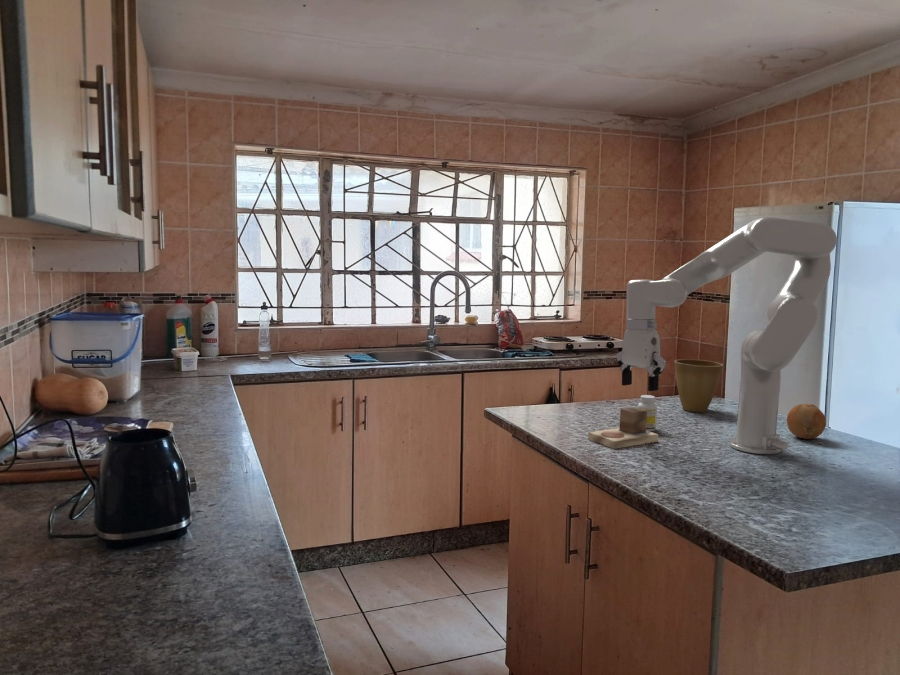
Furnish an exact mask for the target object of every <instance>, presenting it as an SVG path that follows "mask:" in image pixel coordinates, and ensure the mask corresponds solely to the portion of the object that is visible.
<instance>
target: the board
mask: <svg viewBox="0 0 900 675" xmlns="http://www.w3.org/2000/svg"><path fill="white" fill-rule="evenodd" d="M619 428H620V427H615V428H609V429H602V430H596V431H595V430H593V431H588V438H587V439H588V441H591V440H592V442H593V443H594V442H595V443H597V444H599V443H600V445H602V444H603V445H602V446H604V447H605V446H606V447H608V448H610V449H613V450H617V449H621V448H622V447H623V448H629V447H633V446H634V445H635V446H639V445H645V443H646V444H651V442H652V443H657V441H658V442H659V434H658V433H655V432H653V431H646V432H644V433H638V434H630V433H627V432H624V431H621V430H619ZM628 446H629V447H628ZM623 448H622V449H623Z"/></svg>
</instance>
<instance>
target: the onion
mask: <svg viewBox="0 0 900 675" xmlns="http://www.w3.org/2000/svg"><path fill="white" fill-rule="evenodd" d="M786 424H787V429H788V431H789V432H790V433H791V434H792V435H794V436H795V437H797V438H798V437H799V438H798V439H801V438H803V439H802V440H812V439H815V438H817V437H819V436H820V435H821V436H822V434H823V433H824V431H825V429H826V427H827V426H826V425H827V420H826V416H825V414H824V412H823V411H822V410H821V409H820V408H819V407H818V406H817V405H815V404H812V403H802V404H797V405H794V406H793V407H792V408H791V409H790V410H789V412H788V414H787V416H786Z"/></svg>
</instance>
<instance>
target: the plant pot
mask: <svg viewBox="0 0 900 675" xmlns="http://www.w3.org/2000/svg"><path fill="white" fill-rule="evenodd" d="M723 366H724V365H723V363H720V362H716V361H711V360H704V359H692V358H691V359H689V358H687V359H685V358H684V359H681V358H680V359H676V360H674V370H675V372H674V373H675V381H676V387H677V391H678V392H677V393H678V397H679V400H680V403H681V407H682V409H683V410H685V411H687V412H692V413H705V412H707V410H708V408H709V407H710V405H711V403H712V400H713V398H714V396H715V393H716V390H717V388H718V385H719V381H720V379H721V374H722V370H723Z"/></svg>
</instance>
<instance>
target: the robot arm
mask: <svg viewBox="0 0 900 675" xmlns="http://www.w3.org/2000/svg"><path fill="white" fill-rule="evenodd" d="M837 240H838V237H837V234H836V232H835V230H834V228H832V227H831V226H829V225H828V224H825V223H822V222H814V221H803V220H796V219H795V220H794V219H786V218H780V217H773V216H772V217H771V216H765V217H760V218H756V219H754V220H751V221H750V222H748V223H747V224H745V225H743V226H742V227H741V228H739V229H737V230H735V231H734V232H733V233H731V234H729V235H728V236H726V237H724V238H723V239H722V240H720V241H719V242H717V243H716V244H714V245H712V246H711V247H709V248H708V249H706V250H705V251H703V252H701V253H700V254H699V255H698V256H696V257H695V258H693V259H692V260H690V261H688V262H687V263H685V264H684V265H682V266H680V267H679V268H678V269H676V270H674V271H673V272H671V273H669V274H668V275H667V276H665V277H663V278H662V279H660V280H652V279H644V278H643V279H642V278H641V279H631V280H629V281H628V282H627V285H626V323H625V324H626V326H625V327H626V329H625V330H624V335H623V339H622V340H623V342H622V350H621V351H619V352H618V353H616V355H615V357H616V360H617V365H618V366H619V370H620V371H621V385H622V386H630V385H632V383H633V370H632V368H633V367H634V368H640V369H646V370H647V372H648V374H649V376H647V377H648V378H647V379H648V381H647V382H648V383H647V384H648V385H647V390H648V391H649V392H654V391H659V383H660V382H659V378H660V376H661V375H662V373H663V372H664V371H665V367H666V365H667V361H666V359H664V357H662V356H661V346H660V345H661V344H660V336H659V333H658V331H657V330H656V328H657V327H658V323H657V322H656V311H657V310H656V308H657V307H663V308H677V307H679V306H681V305H683V304H684V302H685V301H686V299H687V297H688V295H689V294H691V293H693V292H695V291H696V290H697V289H699V288H701V287H703V286H705V285H708V284H709V283H711V282H714V281H717V280H720V279H723V278H725V277H728V276H729V275H731V274H732V273H734V272H736V271H737V270H739V269H741V267H743V266H745V265H746V264H748V263H749V262H751V261H753V260H755V259H756V258H758V257H760V256H761V255H763V254H764V253H766V252H767V253H774V254H780V255H786V256H787V255H788V256H792V257H793V267H792V270H791V272H790V274H789V276H788V277H787V279H786V281H785V282H784V284H783V285H782V287H781V288H780V290H779V291H778V293H777V294H776V295H775V297H774V298H773V300H772V301H771V303H770V304H769V306H768V308H767V311H766V317H767V319H768V322H767V324H766V326H765V327H764V329H755V330H753V331H751V332H750V333H748V334H747V335H746V336H745V337H744V339H743V341H742V343H741V348H740V381H739V382H740V385H739V392H738V393H739V395H738V406H737V407H738V409H737V421H736V436H735V437H733V438H730V439H729V446H730V447H732V449H734V450H738V451H741V452H745V453H751V454H756V455H757V454H758V455H775V454H779V453H781V452H782V451H783V452H785V451H787V449H788V446H789V442H788V441H785V440H781V439H780V437H781V436H780V435H781V434H779V433H777V428H778V426H777V424H778V417H779V416H778V415H779V402H780V401H779V400H780V391H781V380H782V378H781V377H782V376H781V372H782V370H783V369H784V368H786V367H787V366H788V365H789V364H790V363H791V362H792V360H794V358H795V356H796V355H797V354H798V352H799V351H800V349H801V348H802V347H803V345H804V343H805V342H806V341H807V339H808V338H809V336H810V335H811V333H812V332H813V330H814V328H815V327H816V324H817V321H818V314H819V313H818V308H817V305H816V301H817V300H818V298H819V296H820V295H821V293H822V292H823V290H824V288H825V287H826V285H827V283H828V280H829V278H830V276H831V270H832V269H831V268H832V265H831V256H830V254H831V253H832V252H833V251H834V250H835V247H836V245H837Z"/></svg>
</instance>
